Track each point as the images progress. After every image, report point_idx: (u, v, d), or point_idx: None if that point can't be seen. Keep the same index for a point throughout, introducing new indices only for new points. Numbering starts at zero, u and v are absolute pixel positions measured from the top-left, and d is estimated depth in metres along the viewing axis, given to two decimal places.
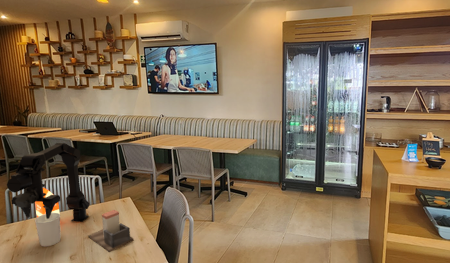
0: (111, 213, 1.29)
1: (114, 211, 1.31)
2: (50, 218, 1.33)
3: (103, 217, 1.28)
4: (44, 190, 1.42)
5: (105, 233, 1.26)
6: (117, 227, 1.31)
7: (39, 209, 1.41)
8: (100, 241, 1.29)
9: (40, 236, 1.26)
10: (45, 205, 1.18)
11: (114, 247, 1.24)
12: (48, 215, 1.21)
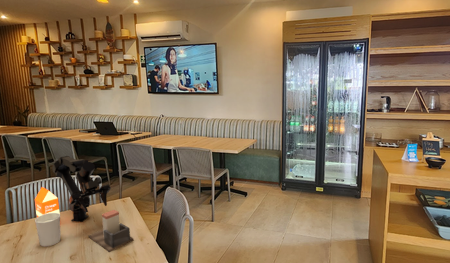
0: (111, 213, 1.29)
1: (114, 211, 1.31)
2: (50, 218, 1.33)
3: (103, 217, 1.28)
4: (44, 190, 1.42)
5: (105, 233, 1.26)
6: (117, 227, 1.31)
7: (39, 209, 1.41)
8: (100, 241, 1.29)
9: (40, 236, 1.26)
10: (106, 188, 1.42)
11: (114, 247, 1.24)
12: None
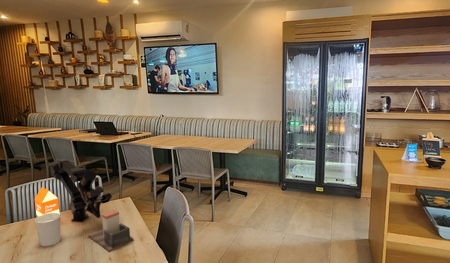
0: (111, 213, 1.29)
1: (114, 211, 1.31)
2: (50, 218, 1.33)
3: (103, 217, 1.28)
4: (44, 190, 1.42)
5: (105, 233, 1.26)
6: (117, 227, 1.31)
7: (39, 209, 1.41)
8: (100, 241, 1.29)
9: (40, 236, 1.26)
10: (107, 197, 1.43)
11: (114, 247, 1.24)
12: None
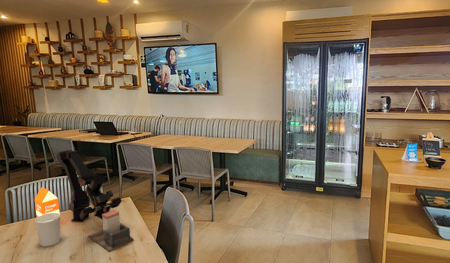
0: (111, 213, 1.29)
1: (114, 211, 1.31)
2: (50, 218, 1.33)
3: (103, 217, 1.28)
4: (44, 190, 1.42)
5: (105, 233, 1.26)
6: (118, 227, 1.31)
7: (39, 209, 1.41)
8: (100, 241, 1.29)
9: (40, 236, 1.26)
10: (117, 202, 1.38)
11: (114, 247, 1.24)
12: None
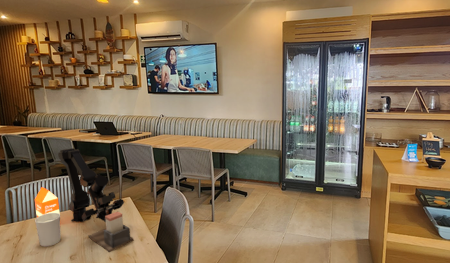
0: (114, 215, 1.27)
1: (117, 213, 1.29)
2: (50, 218, 1.33)
3: (106, 219, 1.26)
4: (44, 190, 1.42)
5: (105, 233, 1.26)
6: (121, 229, 1.29)
7: (39, 209, 1.41)
8: (100, 241, 1.29)
9: (40, 236, 1.26)
10: (119, 203, 1.36)
11: (114, 247, 1.24)
12: None
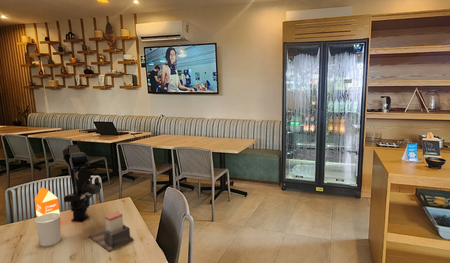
0: (114, 215, 1.27)
1: (117, 213, 1.29)
2: (50, 218, 1.33)
3: (106, 219, 1.26)
4: (44, 190, 1.42)
5: (105, 233, 1.26)
6: (121, 229, 1.29)
7: (39, 209, 1.41)
8: (100, 241, 1.29)
9: (40, 236, 1.26)
10: None
11: (114, 247, 1.24)
12: None
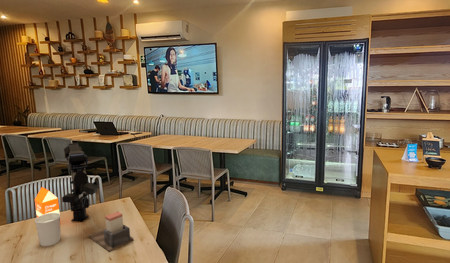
0: (114, 215, 1.27)
1: (117, 213, 1.29)
2: (50, 218, 1.33)
3: (106, 219, 1.26)
4: (44, 190, 1.42)
5: (105, 233, 1.26)
6: (121, 229, 1.29)
7: (39, 209, 1.41)
8: (100, 241, 1.29)
9: (40, 236, 1.26)
10: None
11: (114, 247, 1.24)
12: None
